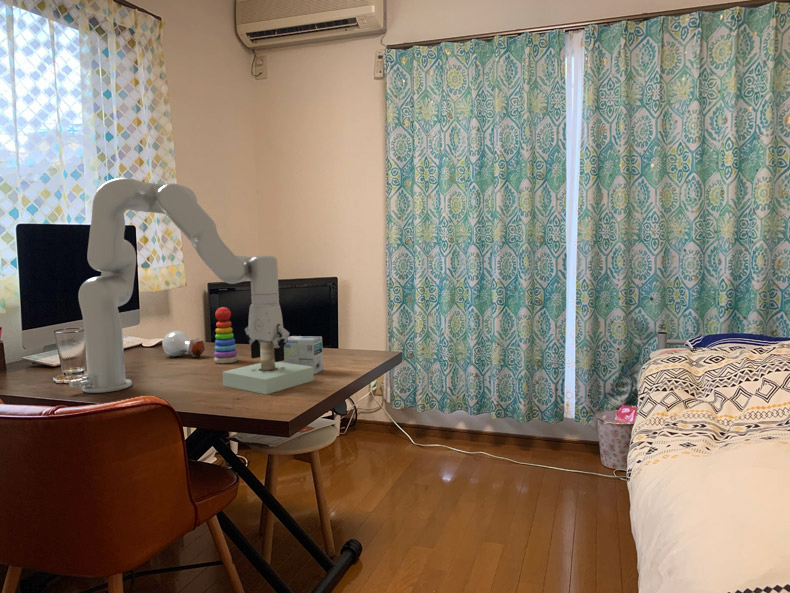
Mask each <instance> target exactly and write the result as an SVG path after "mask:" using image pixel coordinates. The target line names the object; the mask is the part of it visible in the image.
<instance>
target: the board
mask: <svg viewBox="0 0 790 593" xmlns="http://www.w3.org/2000/svg"><path fill="white" fill-rule="evenodd" d="M275 368H276V370H274V371H265V372H263V371H261V362H259V363H254V364H250V365H246V366H240V367H238V368H232V369H229V370H225V371H224V370H223V371H222V386H223V387H228V388H232V389H238V390H241V391H242V390H243V391H248V392H252V393H258V394H262V395H268V394H272V393H275V392H276V393H277V392H279V391H282V390H286V389H290V388H292V387H293V388H294V387H296V386H300V385H304V384H306V383H309V382H313V381H315V376H314V375H315V374H314V370H313V367H311V366H305V365H298V364H291V363H285V362H284V361H280V362H275Z"/></svg>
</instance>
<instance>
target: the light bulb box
mask: <svg viewBox="0 0 790 593" xmlns="http://www.w3.org/2000/svg"><path fill="white" fill-rule="evenodd" d="M323 352H324V350H323V337H322V336H314V335H313V336H311V335H310V336H308V335H307V336H305V335H304V336H301V335H298V336H297V335H292V336H289V337H288V341H287V343H286V346H285V347H284V361H283V362H285V363H291V364H298V365H305V366H311V367H313V370H314V375H316V374H318V373H320V372H321V371H323V370H324V353H323Z"/></svg>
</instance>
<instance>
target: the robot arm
mask: <svg viewBox="0 0 790 593" xmlns="http://www.w3.org/2000/svg"><path fill="white" fill-rule="evenodd" d="M91 205H92V208H91V221H90V227H89V237H88V245H87V257H86V258H87V262H88V264H89V267H91V268H92V269H93V270H94V271H97V272H101V273H100V276H99V275H98V276H94V277H91V278H88V279H86V280H85V281H84V282H83V283H82V284H81V285H80V287H79V290H78V302H79V303H78V304H79V308H80V311H81V315H82V321H83V322H82V323H83V331H84V332H83V334H84V342H85V343H84V344H85V355H86V356H85V357H86V358H85V359H86V373H84V374H83V376H82V377H81V378H79V379H78V378H77V379H72V380H69V382H68V384H69V387H70V388H75V387H79V388H80V387H81V389H82V391H83V392H84V393H89V394H90V393H92V394H94V393H95V394H96V393H97V394H98V393H99V394H100V393H109V392H110V393H111V392H115V391H121V390H124V389H127V388H129V387H131V386H132V385H133V383H132V380H131V379H130V378H129V379H128V378H127V377H126V368H125V367H126V366H125V365H126V364H125V353H124V349H125V348H124V340H123V339H124V337H123V336H124V335H123V325H122V318H121V315H120V311H119V309H118V307H121V306H124V305H125V304H127V303H128V302H129V301H130V299H131V297H132V295H133V291H134V284H135V283H134V282H135V276H136V267H137V254H136V250H135V247H134V245H132V243H131V242H129V240H126V239H125V230H126V220H125V212H126V211H129V210H130V211H135V212H137V211H138V212H142V213H143V212H144V213H154V214H155V213H156V214H162V215H163V214H164V215H166V216H167V217H168V219H170V221H171V222H172V223H173V224H174V225H175V226H176V227H177V228H178V229H179V230H180V231H181V233H182V234H183V235H184V236H185V237H186V239H188V241H189V242H190V243H191V245H192V247H193V249H194V250H195V252H196V253H197V254H198V256H199V257H200V259H201V260H202V261H203V262H204V264H205V265H206V266H207V267H208V268H209V269H210V270H211V272H213V273H214V275H216V277H217V278H218V279H220V280H221V281H222V282H223V283H227V284H229V285H234V284H239V283H242V282H248V281H250V289H251V290H250V292H251V297H250V298H251V304H250V306H249V312H248V325H247V326H246V327H245V328H244V332H245V334H246V338H247V340H248V343H249V345H250V356H251V359H257V358H261V355H260V342H261V341H272V342H273V343H274V346H275V348H274V361H275V362H284V347H285V346H286V343H287V341H288V337H290V331H288V330H287V329H286V328H285V327H284V322H283V320H284V319H283V314H282V309H281V305H280V297H279V296H280V293H279V292H280V291H279V273H278V272H279V270H278V268H279V265H278V259H277V257H275V256H272V255H258V256H247V255H246V256H245V255H235V253H233V251H232V250H231V249H230V248H229V247H228V246H227V245H226V244H225V242H224V241H223V239H222V238H221V237H220V235H219V233H218V230H217V225H216V223H215V221H214V219H213V218H212V217H211V216H210V215H209V214H208V213H207V212H206V211H205V210H204V208H203V207H202V206H201V205H200V204H199V203H198V199H197V196H196V193H195V192H194V191H193V190H192V189H190V188H189V187H188V186H185V185H182V184H179V183H173V182H172V183H167V184H159V183H152V182H145V181H141V180H138V179H134V178H130V177H117V178H114V179H110V180H108V181H106V182H104V183H103V184H102V185H101V186H99V187H98V188H97V190H96V192H95V193H94V197H93V200H92V204H91Z"/></svg>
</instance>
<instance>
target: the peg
mask: <svg viewBox="0 0 790 593" xmlns="http://www.w3.org/2000/svg"><path fill="white" fill-rule="evenodd" d="M259 343H260V355H261V357H260V363H261V371H263V372H265V371H274V370H276V368H275V361H274V348H276V347H275V345H274V343H273V342H272V341H262V340H260V342H259Z"/></svg>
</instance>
